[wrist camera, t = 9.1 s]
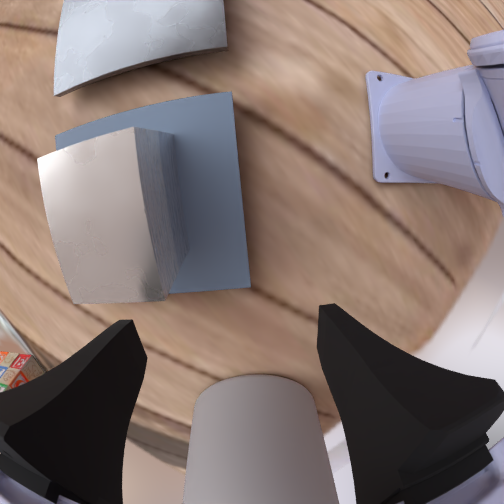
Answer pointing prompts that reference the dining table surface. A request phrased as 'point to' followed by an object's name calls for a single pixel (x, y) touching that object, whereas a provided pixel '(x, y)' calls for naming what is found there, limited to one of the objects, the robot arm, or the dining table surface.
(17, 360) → the stack of blocks
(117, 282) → the block
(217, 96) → the stand
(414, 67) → the dining table surface
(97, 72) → the stand
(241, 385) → the cylinder vase
